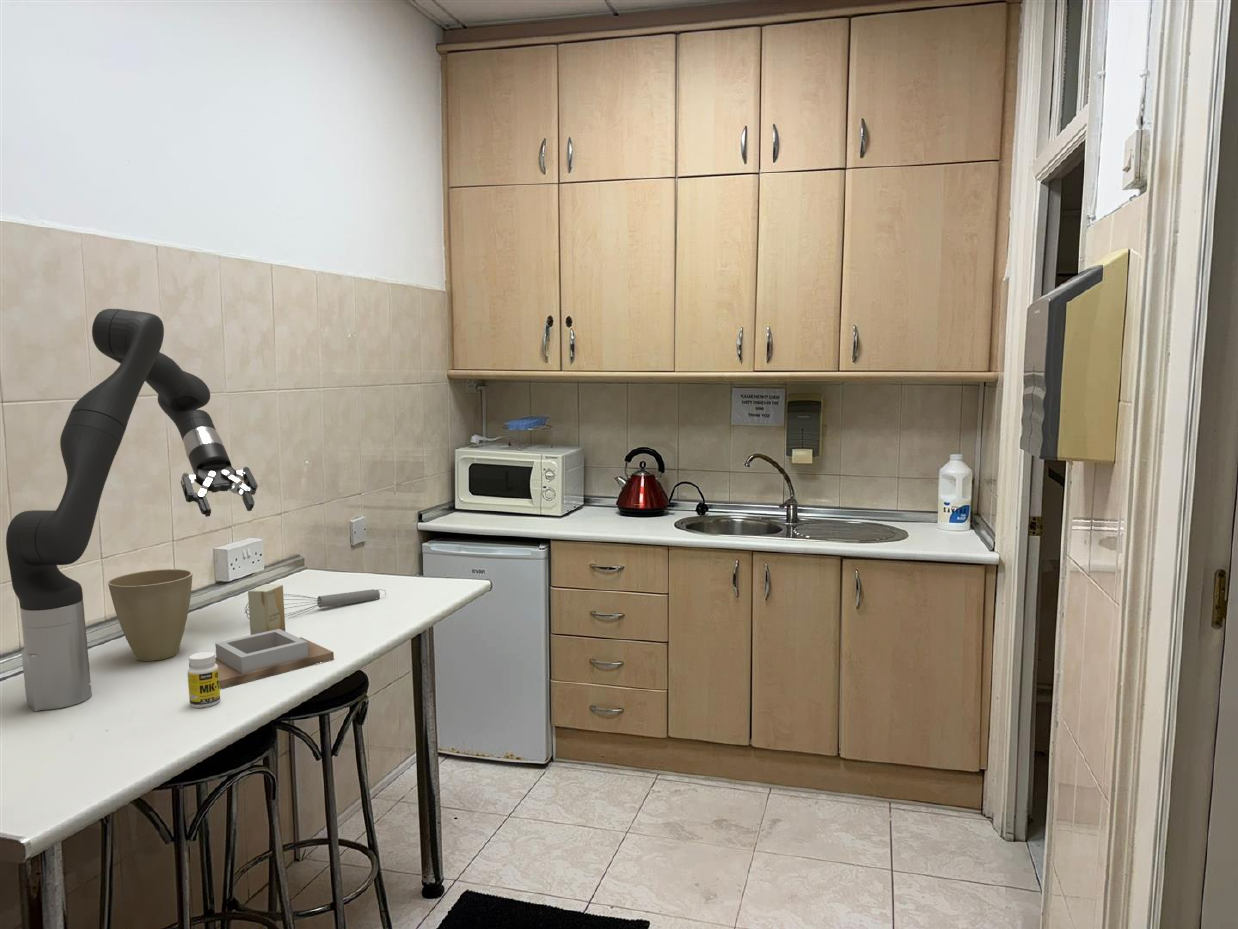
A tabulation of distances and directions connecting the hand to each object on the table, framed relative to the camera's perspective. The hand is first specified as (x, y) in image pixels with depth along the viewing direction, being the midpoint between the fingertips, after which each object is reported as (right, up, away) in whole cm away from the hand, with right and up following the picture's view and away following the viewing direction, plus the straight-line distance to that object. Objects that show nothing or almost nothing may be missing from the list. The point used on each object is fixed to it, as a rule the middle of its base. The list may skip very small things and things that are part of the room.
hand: (230, 511), depth 191 cm
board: (+13, -29, -16) cm, 35 cm away
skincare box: (+10, -27, -3) cm, 29 cm away
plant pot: (-11, -28, -8) cm, 32 cm away
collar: (+13, -27, -16) cm, 34 cm away
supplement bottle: (+10, -31, -34) cm, 48 cm away
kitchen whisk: (+11, -25, +23) cm, 35 cm away
